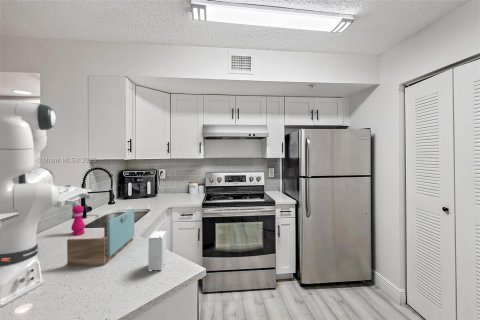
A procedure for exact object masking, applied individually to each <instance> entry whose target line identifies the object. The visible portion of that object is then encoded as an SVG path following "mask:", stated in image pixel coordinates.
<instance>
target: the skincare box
mask: <svg viewBox="0 0 480 320" xmlns="http://www.w3.org/2000/svg"><path fill="white" fill-rule="evenodd" d="M147 254H148V261H147V262H148V266H147V269H148V270H161V269H162V270H164V268H165V265H166V263H165V261H166V262H167V231H165V230H161V231H157V230H156V231H153V232H152V233H151V234H150V236H149V237H148V253H147ZM164 264H165V265H164Z"/></svg>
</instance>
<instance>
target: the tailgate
mask: <svg viewBox="0 0 480 320" xmlns="http://www.w3.org/2000/svg"><path fill="white" fill-rule="evenodd" d="M131 238H133V239H134V238H135V208H131V209H129V210H127V211H125V212H124V213H122V214H120V215H118V216H116V217H114V218H112V219H110V221H108V222H107V257H110V256H111V255H113V254H114V253H115V252H116V251H117V250H118V249H120V248H121V247H122V246H123V245H124V244H125V243H127V242H128V241H129V240H130V239H131Z"/></svg>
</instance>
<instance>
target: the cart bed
mask: <svg viewBox="0 0 480 320" xmlns="http://www.w3.org/2000/svg"><path fill="white" fill-rule="evenodd" d="M110 220H111V219H110ZM110 220H109V219H107V220H103V222H104V223H103V224H104V225H103V230H104V232H103V234H104V236H103V237H98V238H95V237H94V238H91V237H90V238H69V239H67V240H66V249H67V250H66V251H67V254H66V257H67V258H66V259H67V266H70V267H88V266H89V267H92V266H91V265H95V266H105V265H106V264H107V263H108V262H110V261H109V260H112V259H113V258H114V257H116V256H117V255H118V254H119V253H120V252H121V251H122V250H124V248H126V247H127V246H128V245H129V244H130V243H132V241H133V240H134V237H133V238H131V239H130V240H129V241H128V242H127V243H125V244H124V245H123V246H122V247H121V248H120V249H118V250H117V251H116V252H115V253H114V254H113V255H111V256H110V257H107V222H108V221H110ZM128 243H129V244H128ZM127 244H128V245H127ZM126 245H127V246H126ZM125 246H126V247H125ZM118 252H119V253H118ZM117 253H118V254H117Z"/></svg>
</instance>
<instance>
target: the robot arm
mask: <svg viewBox="0 0 480 320" xmlns="http://www.w3.org/2000/svg"><path fill="white" fill-rule="evenodd" d="M56 119H57V116H56V113H55V111H54V109H53V108H52V107H51V106H49V105H46V104H37V103H32V102H25V101H20V100H11V99H10V100H9V99H8V100H7V99H0V215H4V214H5V215H6V214H14V213H15V214H17V213H18V217H17V218H15V219H14V220H11V221H9V222H7V223H5V224H3V225H1V226H0V308H2V307H3V306H5V305H7V304H9V303H11V302H13V301H15V300H16V299H19V298H20V297H22V296H24V295H25V294H27V293H29V292H31V291H33V290H34V289H36V288H38V287H39V286H42V285H43V284H44V283H45V280H44V278H43V276H42V270H41V269H42V268H41V264H40V260H39V258H38V255H37V254H38V253H39V246H38V243H37V230H38V225H39V222H40V221H41V218H42V217H43V216H44V214H45V213H46V212H47V211H49V210H50V209H51V208H53V207H54V208H63V207H65V206H67V205H69V206H70V205H75V206H77V204H78V203H79V202H80V201H79V200H81V199H83V198H85V199H87V200H88V199H91V198H92V194H88V192H89V191H88V189H87V188H83V187H79V186H74V185H71V184H69V185H55V179H54V174H53V172H52V171H51V170H50V169H47V168H45V167H39V166H38V167H36V168H34V167H35V157H36V156H37V155H38V154H39V153H40V152H42V151H43V150H44V149H45V147H46V146H47V142H48V135H47V130H51V129H52V128H53V127H54V126H55V124H56ZM79 204H80V203H79Z"/></svg>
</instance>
